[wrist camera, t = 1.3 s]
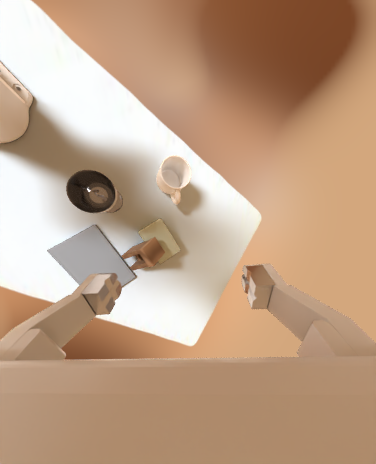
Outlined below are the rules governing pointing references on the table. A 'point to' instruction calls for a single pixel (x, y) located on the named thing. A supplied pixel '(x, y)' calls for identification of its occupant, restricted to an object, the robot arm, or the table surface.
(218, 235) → the table surface
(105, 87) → the table surface
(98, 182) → the wine glass
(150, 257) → the stool
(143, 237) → the pale olive rectangular block
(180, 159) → the mug
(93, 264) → the mat
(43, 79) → the table surface
